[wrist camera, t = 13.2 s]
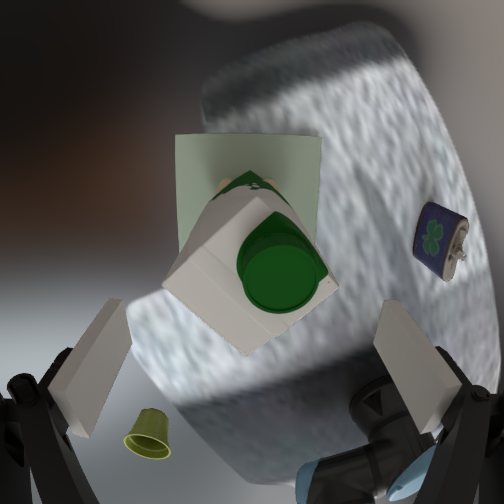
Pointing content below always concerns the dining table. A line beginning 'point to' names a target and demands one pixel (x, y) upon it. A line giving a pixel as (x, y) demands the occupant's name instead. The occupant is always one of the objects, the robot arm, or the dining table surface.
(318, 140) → the peg stand
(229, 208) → the soya milk
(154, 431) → the plant pot
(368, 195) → the dining table surface
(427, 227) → the flask
